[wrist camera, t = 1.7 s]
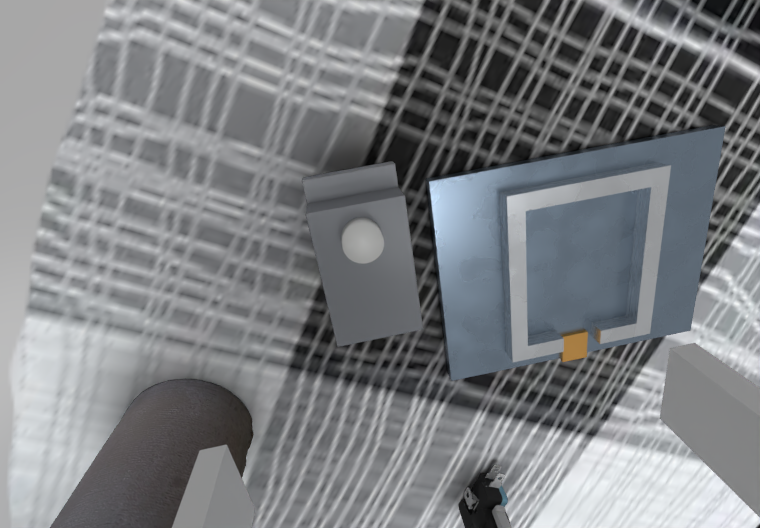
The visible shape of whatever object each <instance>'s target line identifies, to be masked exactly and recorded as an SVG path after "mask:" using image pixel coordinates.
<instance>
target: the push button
mask: <svg viewBox="0 0 760 528" xmlns="http://www.w3.org/2000/svg"><path fill="white" fill-rule="evenodd" d="M495 468H498V470H496V471H494V469H495ZM500 469H501V466H500V465H494V466H493V467H492V469H491V471H490V473H487V475H486V474H480V475H479V477H478V479H477V480H476V482H475V484H474V486H473V488H472V489H471V491H470V488H469V487H467V489H466V491H465V492H464V497H465V501H461V502H460V504H459V510H460V513H461V516H462V519H463V523H464V526H465V528H511V525H510V522H509V519H508V516H507V514H506V510H505V508H504V507H505V506H506V504H507V502H508V498H507V496H506V494H505V492H504V490H503V487H502V483H501V482H502V481H503V479H504V477H505V476H506V475H505V474H501V473H498V472H499V471H500ZM498 477H502V478H501V479H499V478H498ZM467 493H469V495H468V496H467Z"/></svg>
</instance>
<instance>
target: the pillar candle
mask: <svg viewBox="0 0 760 528" xmlns="http://www.w3.org/2000/svg"><path fill="white" fill-rule="evenodd" d="M251 423H252V419H251V416H250V414H249V412H248V410H247V408H246V407H245V406H244V404H243V403H242V402H241V401H240V400H239V399H238V398H237V397H236V396H235V395H233V394H232V393H231V392H229V391H228V390H226V389H224V388H222V387H221V386H217V385H215V384H213V383H208V382H204V381H200V380H192V379H181V380H173V381H166V382H163V383H160V384H157V385H155V386H153V387H150V388H148V389H147V390H145V391H143V392H142V393H141V394H140V395H139V396H138V397H137V398H136V399H135V400H134V401H133V402H132V403H131V405H130V406H129V408H128V409H127V411H126V412H125V414H124V416H123V417H122V419H121V421H120V422H119V424H118V425H117V426H116V428H115V429H114V431H113V432H112V434H111V435H110V437H109V438H108V440H107V441H106V443H105V444H104V446H103V447H102V449H101V450H100V452H99V453H98V455H97V456H96V458H95V459H94V461H93V463H92V464H91V466H90V467H89V469H88V470H87V472H86V473H85V475H84V476H83V478H82V479H81V481H80V482H79V484H78V486H77V487H76V489H75V490H74V492H73V493H72V495H71V496H70V498H69V499H68V501H67V503H66V504H65V506H64V507H63V509H62V510H61V512H60V513H59V515H58V516H57V518H56V519H55V521H54V522H53V524H52V525H51V527H50V528H172V526H173V523H174V520H175V518H176V515H177V512H178V509H179V506H180V504H181V501H182V498H183V495H184V493H185V490H186V487H187V484H188V481H189V479H190V476H191V473H192V470H193V468H194V465H195V462H196V459H197V457H198V454H199V451H200V450H204V449H208V448H213V447H217V446H222V445H227V446H228V448H229V451H230V453H231V455H232V458H233V460H234V462H235V464H236V467H237V469H238V471H239V473H240V476H241V478H242V476H243V472H244V469H245V466H246V455H247V451H248V449H249V447H250V445H251V441H252V438H253V431H252V424H251Z"/></svg>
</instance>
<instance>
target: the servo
mask: <svg viewBox="0 0 760 528" xmlns="http://www.w3.org/2000/svg"><path fill="white" fill-rule="evenodd" d="M302 183H303V187H304V191H305V196H306V200H307V209H306V218H307V222H308V226H309V230H310V234H311V238H312V242H313V247H314V251H315V255H316V259H317V263H318V267H319V271H320V276H321V280H322V284H323V288H324V292H325V296H326V300H327V305H328V309H329V313H330V317H331V321H332V325H333V330H334V334H335V338H336V342H337V346H338V347H340V346H344V345H349V344H354V343H359V342H364V341H369V340H374V339H379V338H384V337H389V336H393V335H398V334H403V333H408V332H413V331H418V330H423V325H422V317H421V310H420V303H419V295H418V288H417V281H416V274H415V266H414V259H413V252H412V244H411V237H410V230H409V223H408V215H407V208H406V201H405V195H404V194H403V192H402V191H401V190H400V189H399V187H398V182H397V175H396V168H395V163H394V162H393V161H391V162H386V163H379V164H374V165H368V166H363V167H357V168H352V169H347V170H341V171H336V172H330V173H325V174H319V175H314V176H310V177H304V178H303V179H302Z"/></svg>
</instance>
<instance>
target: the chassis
mask: <svg viewBox="0 0 760 528" xmlns="http://www.w3.org/2000/svg"><path fill="white" fill-rule="evenodd" d="M724 132H725V126H716V125H711V126H706V127H700V128H695V129H689V130H684V131H679V132H673V133H668V134H663V135H657V136H652V137H647V138H641V139H636V140H630V141H625V142H620V143H614V144H609V145H604V146H598V147H593V148H587V149H582V150H577V151H571V152H566V153H561V154H555V155H550V156H545V157H539V158H534V159H528V160H523V161H518V162H512V163H507V164H502V165H496V166H491V167H485V168H480V169H475V170H469V171H464V172H459V173H453V174H448V175H443V176H437V177H432V178H426V186H427V194H428V203H429V212H430V221H431V229H432V238H433V247H434V255H435V264H436V273H437V282H438V290H439V299H440V308H441V317H442V325H443V334H444V343H445V351H446V360H447V369H448V374H449V376H450V379H451V381H453V380H458V379H462V378H467V377H472V376H477V375H481V374H486V373H491V372H496V371H500V370H505V369H510V368H515V367H519V366H524V365H529V364H534V363H538V362H543V361H548V360H553V359H557V358H561V361H562V362H565V361H570V360H575V359H579V358H584V357H587V352H590V351H595V350H600V349H605V348H609V347H614V346H619V345H624V344H628V343H633V342H638V341H643V340H647V339H652V338H657V337H662V336H666V335H671V334H676V333H681V332H685V331H690V330H691V324H692V318H693V312H694V306H695V301H696V295H697V289H698V283H699V277H700V271H701V266H702V260H703V254H704V248H705V242H706V237H707V231H708V225H709V219H710V213H711V207H712V202H713V196H714V190H715V184H716V178H717V173H718V167H719V161H720V155H721V149H722V144H723V138H724Z"/></svg>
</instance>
